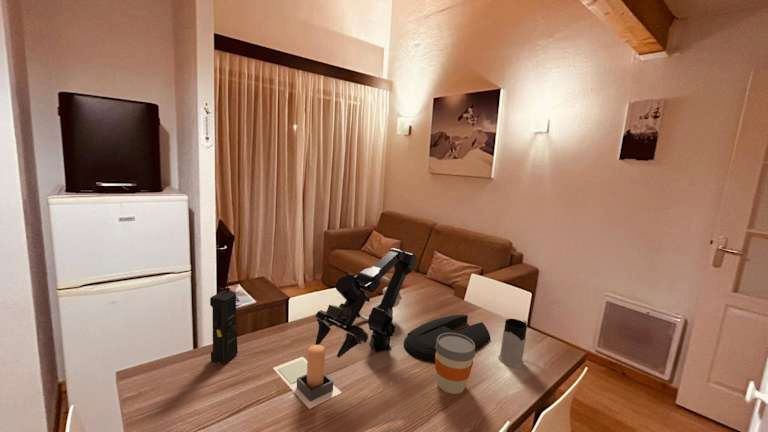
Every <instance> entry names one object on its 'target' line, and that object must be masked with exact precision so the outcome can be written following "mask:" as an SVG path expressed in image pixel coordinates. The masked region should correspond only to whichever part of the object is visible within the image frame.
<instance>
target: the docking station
mask: <svg viewBox="0 0 768 432" xmlns="http://www.w3.org/2000/svg"><path fill="white" fill-rule="evenodd" d="M465 323H466V324H467V323H468V314H453V315H452V314H451V315H446V316H442V317H440V318H436V319H433V320H430V321H427V322H426V323H423V324H421V325H419V326H417V327H415V328H414V329H412V330H410V331H409V332H407V336H406V337H405V338H404V340H403V347H404V350H406V352H407V353H408V354H410V355H411V356H413V357H414V358H417V359H419V360H422V361H425V362H430V363H435V354H436V348H435V346H436V341H437V338H438V336H439V335H441V334H443V333H458V334H461V335H464V336H466V337H468V338H470V339H471V340H472V341H473V342H474V344H475V352H477V351H479V350H480V349H481V348H483V347H484V346H486V345H487V344H488V343H489V342H488V341H491V335H490V332H489V330H488V329H487V326H486V325H485V324H484V323H483V321H481V322H477V323H473V324H470V325H469V326H467V327H465V328H462V329H460V330H458V331H454V330H455V329H457V328H459V327H462V326H464V325H466V324H465ZM463 324H464V325H463ZM456 327H457V328H456ZM454 328H455V329H454ZM486 343H487V344H486ZM478 349H479V350H478Z"/></svg>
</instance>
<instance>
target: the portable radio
mask: <svg viewBox="0 0 768 432" xmlns="http://www.w3.org/2000/svg"><path fill="white" fill-rule="evenodd" d="M209 301H210V302H209V304H210V307H212V308H211V309H212V351H211V352H210V360H211V361H212V362H213V363H218V364H224V365H225V364H227V363H228V362H230V360H232V359H233V358H234V357H235V356H236V355H238V353H239V351H238V349H239V348H238V330H237V327H238V326H237V294H236V291H230V290H229V284H226V290H222V291H219V292H218V293H217V294H215V295H212V296H211V297H210V299H209Z"/></svg>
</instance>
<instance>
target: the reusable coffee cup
mask: <svg viewBox="0 0 768 432" xmlns="http://www.w3.org/2000/svg"><path fill="white" fill-rule="evenodd" d="M435 348H436V354H435V362H434V363H435V371H436V385H437V386H438V388H439V389H441V390H442V391H443V392H445V393H448V394H452V395H455V394H458V395H459V394H460V393H463V392H464V391H465V389H466V385H467V380H468V379H469V377H470V375H471V372H472V368H473V364H474V361H473V360H474V358H475V356H476V351H475V344H474V342H473V341H472V340H471V339H470V338H468V337H466V336H464V335H461V334H458V333H443V334H441V335H439V336H438V338H437V341H436V346H435Z"/></svg>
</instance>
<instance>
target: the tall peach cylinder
mask: <svg viewBox="0 0 768 432" xmlns="http://www.w3.org/2000/svg"><path fill="white" fill-rule="evenodd" d="M325 357H326V348H325V346H323V345H321V344H319V345H315V344H313V345H310V346H309V347H308V349H307V361H308V362H307V386H308V387H309V388H310V389H311V390H313V389H315V388H317V387H320V386H322V385H323V383H324V373H325V359H326V358H325Z"/></svg>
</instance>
